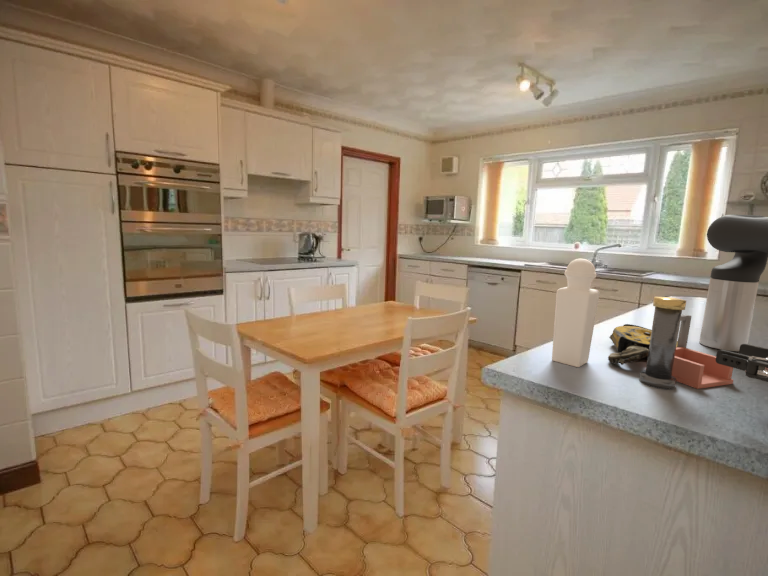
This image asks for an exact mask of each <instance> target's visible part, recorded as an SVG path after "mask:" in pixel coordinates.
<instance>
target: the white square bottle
mask: <svg viewBox="0 0 768 576" xmlns="http://www.w3.org/2000/svg"><path fill="white" fill-rule="evenodd" d="M564 276H565V277H566V282H567V286H564V287H560V288H558V289H557V290H556V293H555V294H556V296H555V309H554V310H555V311H554V324H553V335H552V336H553V339H552V353H551V361H552V362H556V363H559V364H564V365H566V366H567V365H568V366H570V367H575V368H580V367H582V366H584V365H585V364H586V363H588V362H589V358H590V352H591V346H592V340H593V335H594V329H595V328H594V327H595V321H596V317H597V311H598V304H599V298H600V291H599V290H598V289H594V288H591V286H592V283H593V281H594V280H595V279H596V277H597V272H596V267H595V264H594V263H593V262H592V261H590V260H589V259H586V258H580V257H579V258H575V259H572V260H571V261H570V262H569V263H568V265H567V266H566V269H565V270H564Z"/></svg>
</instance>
